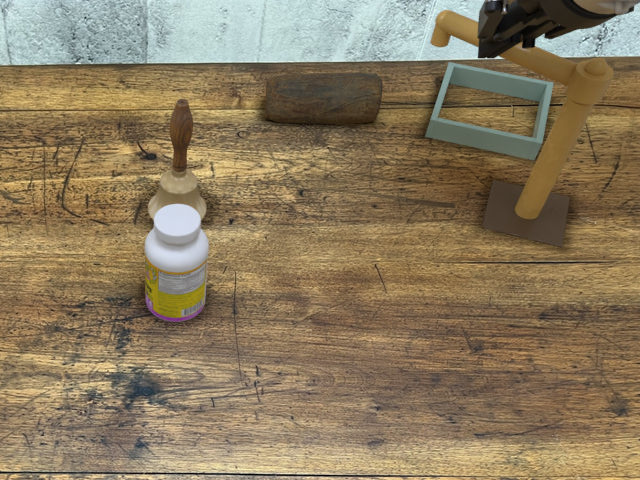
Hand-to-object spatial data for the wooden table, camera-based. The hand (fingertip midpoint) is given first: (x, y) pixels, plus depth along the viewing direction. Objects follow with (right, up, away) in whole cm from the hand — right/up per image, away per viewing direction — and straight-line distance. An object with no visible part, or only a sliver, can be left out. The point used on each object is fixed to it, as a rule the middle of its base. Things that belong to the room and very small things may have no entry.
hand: (486, 45), depth 87 cm
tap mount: (+9, -16, +11) cm, 22 cm away
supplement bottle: (-33, -27, +5) cm, 43 cm away
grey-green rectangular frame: (+9, -1, +22) cm, 24 cm away
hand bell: (-32, -15, +14) cm, 38 cm away
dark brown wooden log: (-12, 0, +24) cm, 27 cm away
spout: (+3, -2, +2) cm, 5 cm away
